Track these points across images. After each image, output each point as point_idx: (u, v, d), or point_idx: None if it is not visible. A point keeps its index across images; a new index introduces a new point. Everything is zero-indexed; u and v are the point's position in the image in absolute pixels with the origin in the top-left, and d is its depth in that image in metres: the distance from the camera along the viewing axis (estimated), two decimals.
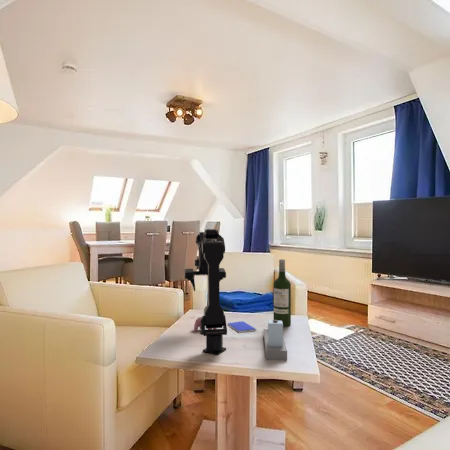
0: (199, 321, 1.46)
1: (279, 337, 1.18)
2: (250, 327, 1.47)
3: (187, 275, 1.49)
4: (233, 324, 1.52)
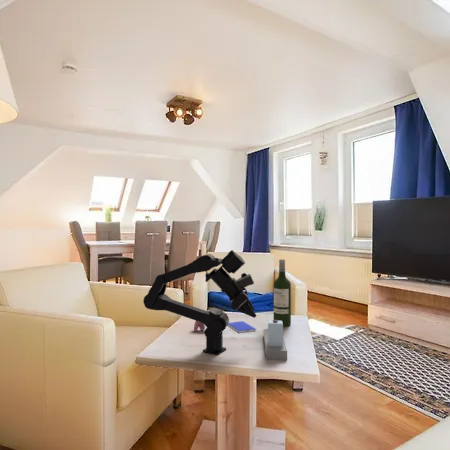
0: None
1: (279, 337, 1.18)
2: (250, 327, 1.47)
3: None
4: (233, 324, 1.52)
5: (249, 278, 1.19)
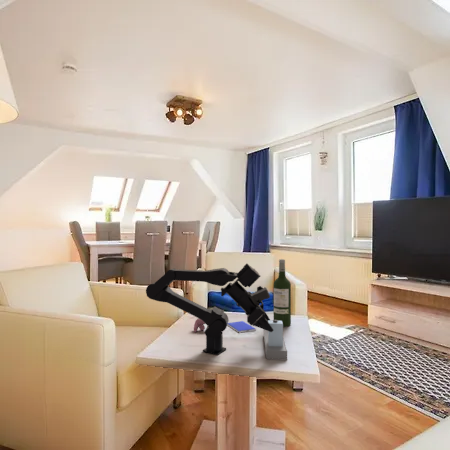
0: (199, 321, 1.45)
1: (279, 337, 1.18)
2: (250, 327, 1.47)
3: None
4: (233, 324, 1.52)
5: (265, 292, 1.18)
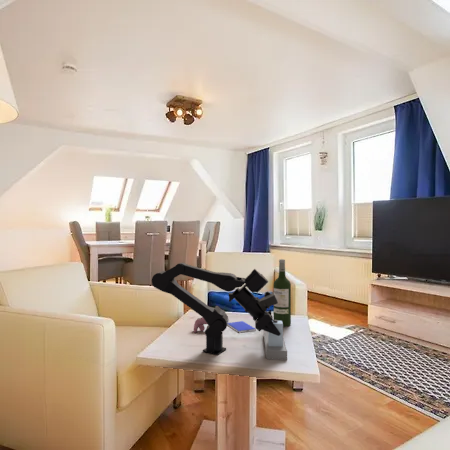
0: (199, 322, 1.45)
1: (279, 337, 1.18)
2: (250, 327, 1.47)
3: None
4: (233, 324, 1.52)
5: (273, 298, 1.18)
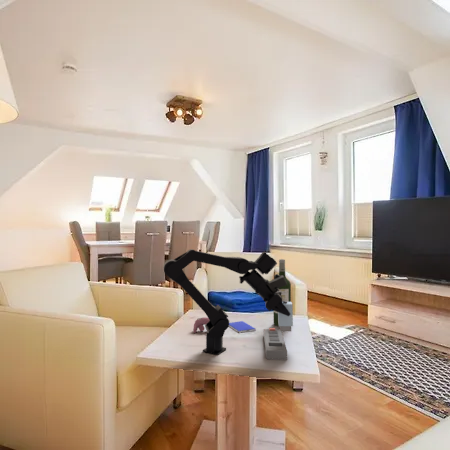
0: (198, 322, 1.44)
1: (288, 318, 1.22)
2: (250, 327, 1.47)
3: None
4: (233, 324, 1.52)
5: (282, 279, 1.21)
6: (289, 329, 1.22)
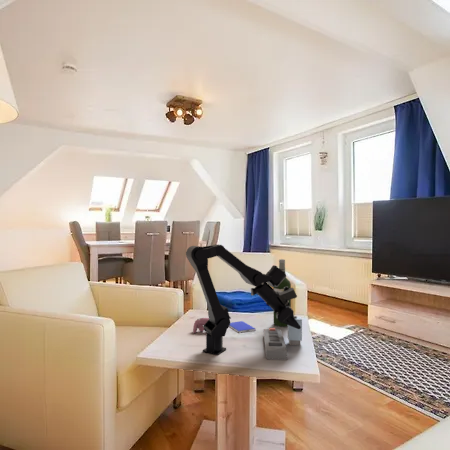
0: (198, 322, 1.44)
1: (298, 332, 1.27)
2: (250, 327, 1.47)
3: None
4: (232, 324, 1.52)
5: (292, 292, 1.27)
6: (298, 343, 1.27)
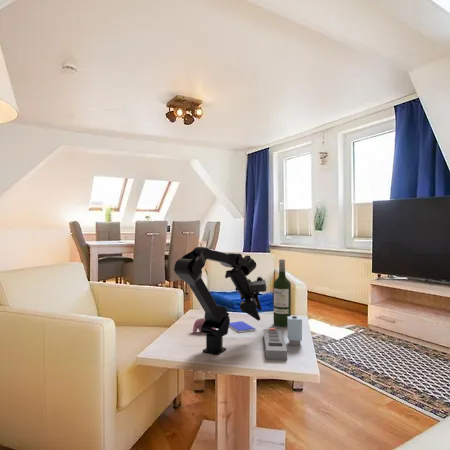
0: (198, 323, 1.43)
1: (298, 332, 1.27)
2: (249, 327, 1.47)
3: None
4: (232, 324, 1.52)
5: (263, 286, 1.29)
6: (298, 343, 1.27)
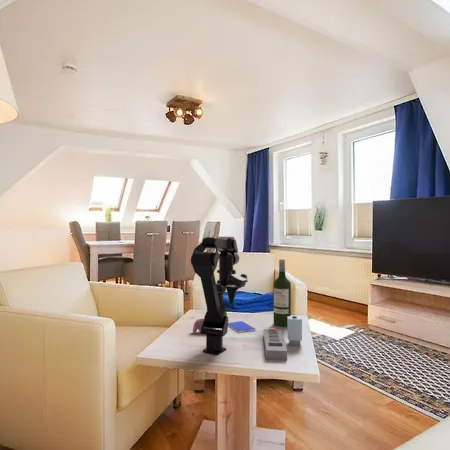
0: (198, 323, 1.43)
1: (298, 332, 1.27)
2: (249, 327, 1.47)
3: None
4: (232, 324, 1.52)
5: (240, 281, 1.30)
6: (298, 343, 1.27)
